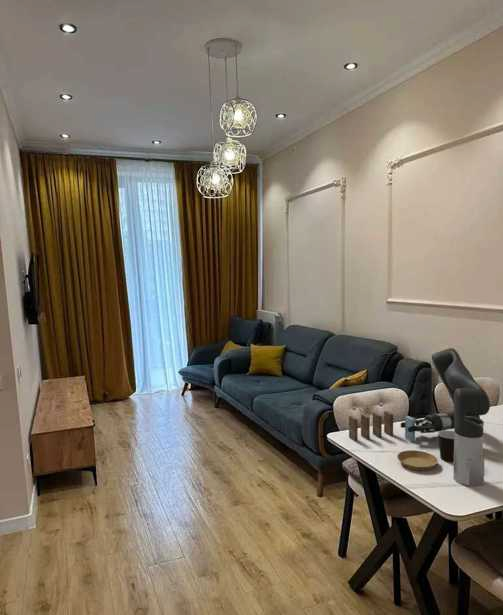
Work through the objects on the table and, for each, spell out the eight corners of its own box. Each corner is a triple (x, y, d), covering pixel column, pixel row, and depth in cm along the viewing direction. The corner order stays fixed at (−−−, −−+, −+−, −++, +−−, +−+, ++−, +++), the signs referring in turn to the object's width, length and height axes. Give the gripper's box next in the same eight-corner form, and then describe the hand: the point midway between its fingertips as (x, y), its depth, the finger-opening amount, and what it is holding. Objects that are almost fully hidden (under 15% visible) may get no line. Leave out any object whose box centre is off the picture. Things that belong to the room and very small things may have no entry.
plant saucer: (413, 476, 165) (413, 469, 165) (389, 459, 179) (389, 453, 179) (446, 469, 169) (446, 463, 169) (420, 454, 183) (420, 448, 183)
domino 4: (387, 431, 208) (387, 410, 207) (393, 435, 203) (393, 414, 202) (384, 432, 207) (384, 411, 206) (390, 436, 203) (390, 414, 202)
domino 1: (352, 436, 203) (352, 415, 202) (357, 440, 198) (357, 418, 197) (349, 437, 202) (348, 415, 201) (354, 441, 198) (354, 419, 197)
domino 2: (364, 435, 204) (364, 413, 203) (369, 439, 200) (369, 417, 199) (360, 435, 204) (360, 414, 203) (366, 439, 199) (366, 417, 198)
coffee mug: (447, 465, 172) (447, 439, 172) (432, 456, 181) (433, 431, 180) (472, 460, 176) (473, 436, 175) (457, 452, 184) (457, 428, 183)
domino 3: (375, 433, 206) (375, 412, 205) (381, 437, 201) (381, 415, 200) (372, 433, 205) (372, 412, 204) (378, 437, 201) (378, 416, 200)
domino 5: (408, 437, 200) (408, 415, 199) (414, 441, 195) (415, 419, 194) (405, 438, 200) (405, 416, 199) (411, 442, 195) (411, 419, 194)
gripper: (448, 436, 194) (414, 441, 190) (427, 425, 208) (394, 430, 203) (449, 419, 194) (415, 424, 189) (427, 409, 207) (395, 413, 203)
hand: (404, 427), depth 196 cm, fingers closed on domino 5, 4 cm apart
